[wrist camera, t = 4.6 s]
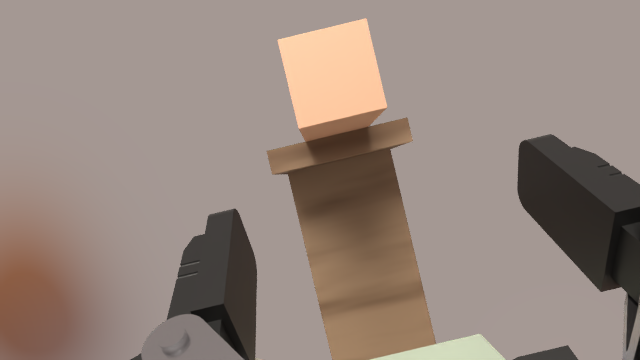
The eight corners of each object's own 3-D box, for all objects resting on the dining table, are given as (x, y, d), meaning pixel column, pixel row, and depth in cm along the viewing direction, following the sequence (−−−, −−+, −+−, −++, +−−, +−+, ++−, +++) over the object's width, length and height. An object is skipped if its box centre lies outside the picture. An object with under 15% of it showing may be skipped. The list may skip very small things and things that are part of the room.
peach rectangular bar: (387, 107, 19) (366, 18, 19) (298, 128, 19) (277, 39, 19) (353, 141, 40) (343, 99, 40) (311, 152, 40) (300, 109, 40)
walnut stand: (530, 641, 28) (407, 117, 27) (391, 673, 28) (266, 151, 27) (463, 491, 41) (379, 135, 40) (369, 513, 41) (284, 158, 40)
